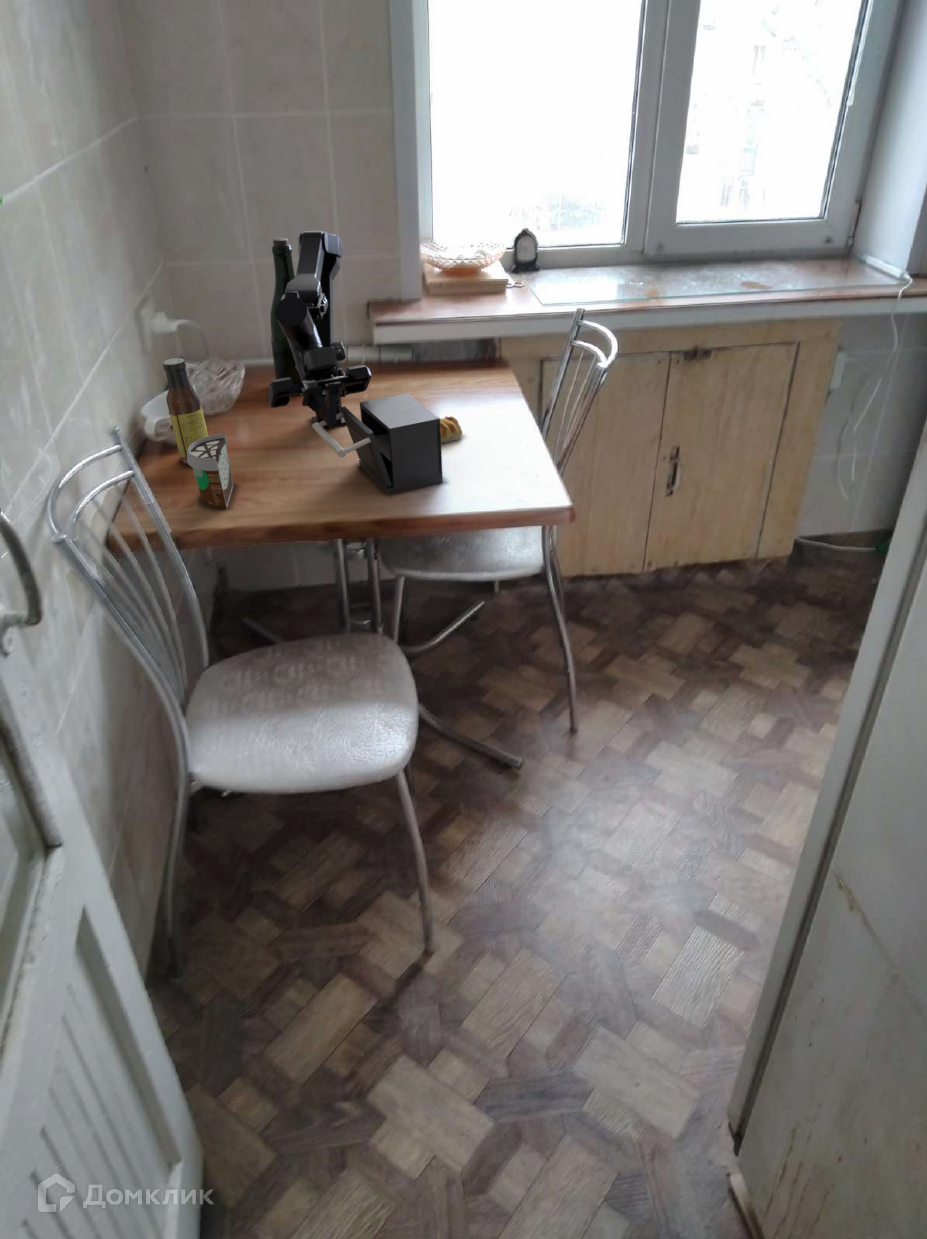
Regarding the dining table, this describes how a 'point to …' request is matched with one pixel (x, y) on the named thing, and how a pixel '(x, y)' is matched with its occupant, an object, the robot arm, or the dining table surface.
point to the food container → (212, 470)
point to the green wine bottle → (283, 275)
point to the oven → (404, 442)
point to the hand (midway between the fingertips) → (333, 427)
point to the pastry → (449, 429)
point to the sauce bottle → (183, 407)
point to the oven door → (357, 444)
